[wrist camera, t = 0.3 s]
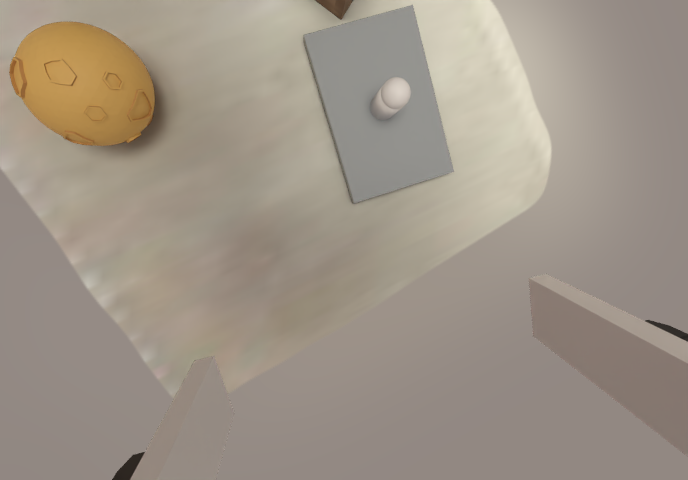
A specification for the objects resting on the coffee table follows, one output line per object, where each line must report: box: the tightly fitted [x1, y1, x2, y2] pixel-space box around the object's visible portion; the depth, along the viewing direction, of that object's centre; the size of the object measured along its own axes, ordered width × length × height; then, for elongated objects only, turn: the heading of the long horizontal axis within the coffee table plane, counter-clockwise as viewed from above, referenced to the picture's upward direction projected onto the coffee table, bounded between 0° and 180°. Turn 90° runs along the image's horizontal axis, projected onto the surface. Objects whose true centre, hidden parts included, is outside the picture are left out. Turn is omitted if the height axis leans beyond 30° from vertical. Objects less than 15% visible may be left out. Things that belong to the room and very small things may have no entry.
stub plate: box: [304, 5, 454, 203], centre depth 35 cm, size 18×12×8 cm, turn 17°
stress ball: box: [9, 22, 155, 146], centre depth 30 cm, size 10×10×10 cm
